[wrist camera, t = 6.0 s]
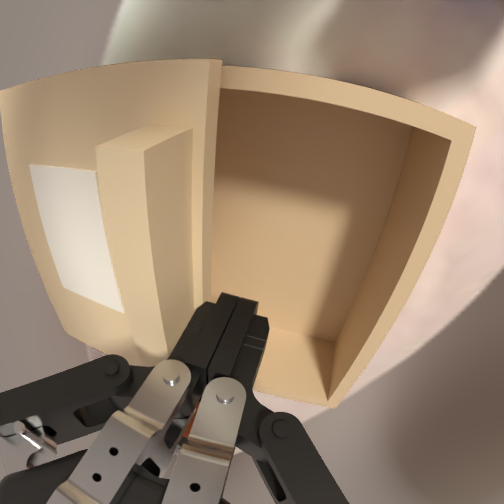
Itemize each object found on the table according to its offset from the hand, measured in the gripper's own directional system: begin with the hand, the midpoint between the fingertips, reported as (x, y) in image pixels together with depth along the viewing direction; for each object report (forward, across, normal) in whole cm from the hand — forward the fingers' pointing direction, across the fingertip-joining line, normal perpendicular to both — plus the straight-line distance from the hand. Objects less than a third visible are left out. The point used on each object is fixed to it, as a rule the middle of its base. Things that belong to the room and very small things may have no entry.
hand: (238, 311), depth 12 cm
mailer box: (+8, -1, 0) cm, 8 cm away
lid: (+1, +8, 0) cm, 8 cm away
